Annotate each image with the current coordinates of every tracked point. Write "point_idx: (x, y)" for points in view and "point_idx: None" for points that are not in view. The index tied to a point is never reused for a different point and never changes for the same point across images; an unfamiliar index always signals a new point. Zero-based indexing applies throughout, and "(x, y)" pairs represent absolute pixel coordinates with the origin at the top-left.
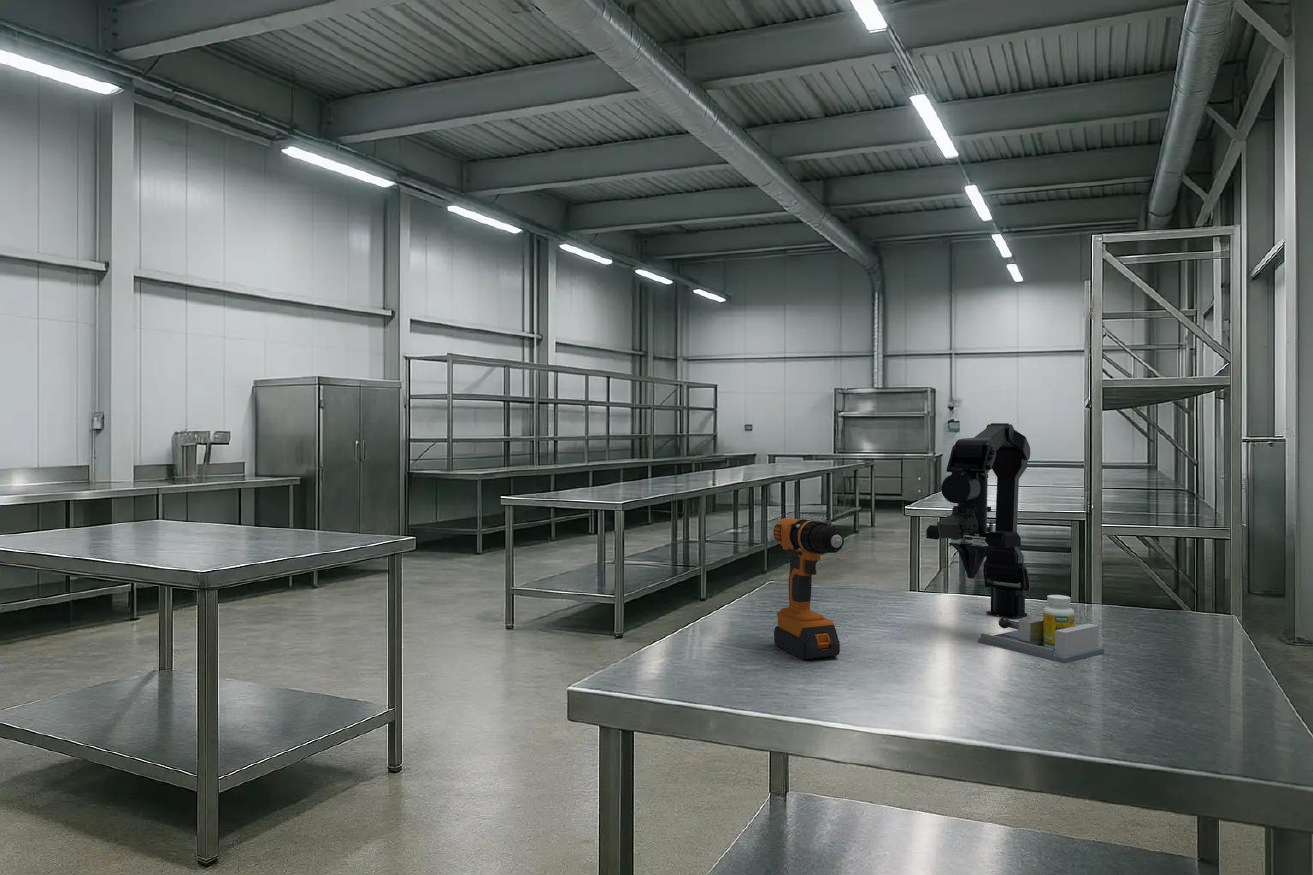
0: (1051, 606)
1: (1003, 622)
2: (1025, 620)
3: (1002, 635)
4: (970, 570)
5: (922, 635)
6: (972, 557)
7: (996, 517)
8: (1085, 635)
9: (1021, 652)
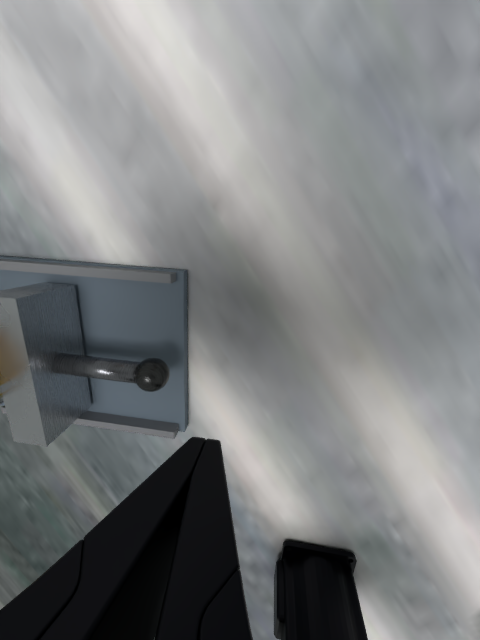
0: None
1: (142, 361)
2: (11, 320)
3: (169, 353)
4: (170, 477)
5: (344, 204)
6: (16, 631)
7: None
8: None
9: (62, 260)
